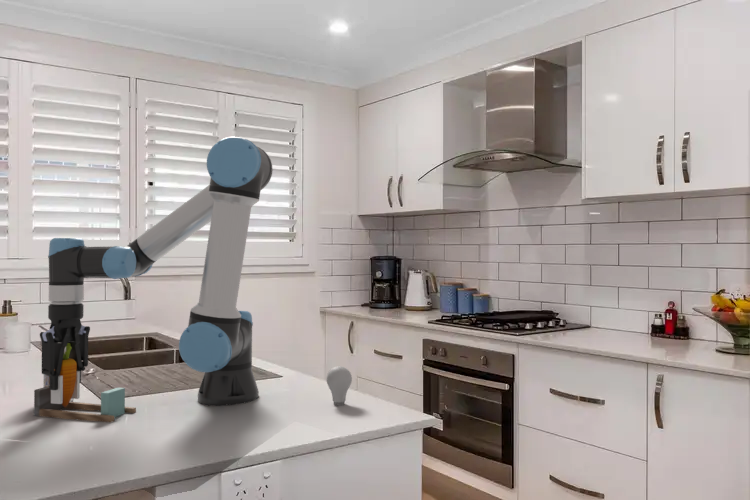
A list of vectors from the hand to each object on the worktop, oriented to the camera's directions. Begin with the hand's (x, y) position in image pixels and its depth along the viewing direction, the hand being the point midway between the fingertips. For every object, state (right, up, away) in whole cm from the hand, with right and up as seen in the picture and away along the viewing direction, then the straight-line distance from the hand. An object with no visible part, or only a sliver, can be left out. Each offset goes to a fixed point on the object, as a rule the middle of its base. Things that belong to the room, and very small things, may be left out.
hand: (65, 400), depth 150 cm
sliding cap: (+13, -3, -4) cm, 14 cm away
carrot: (0, -2, 0) cm, 2 cm away
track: (+6, -3, -2) cm, 7 cm away
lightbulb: (+65, -4, +2) cm, 65 cm away
